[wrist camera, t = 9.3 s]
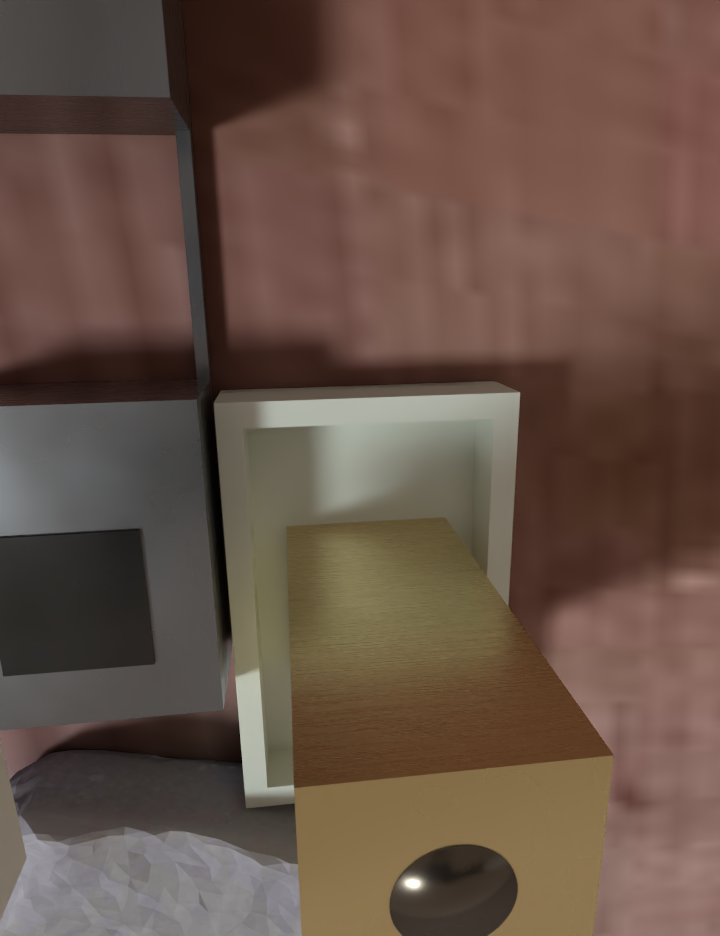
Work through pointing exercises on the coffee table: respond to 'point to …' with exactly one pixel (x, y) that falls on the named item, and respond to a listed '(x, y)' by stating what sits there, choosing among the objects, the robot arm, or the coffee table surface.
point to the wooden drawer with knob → (432, 746)
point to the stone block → (149, 850)
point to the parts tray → (345, 512)
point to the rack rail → (109, 426)
